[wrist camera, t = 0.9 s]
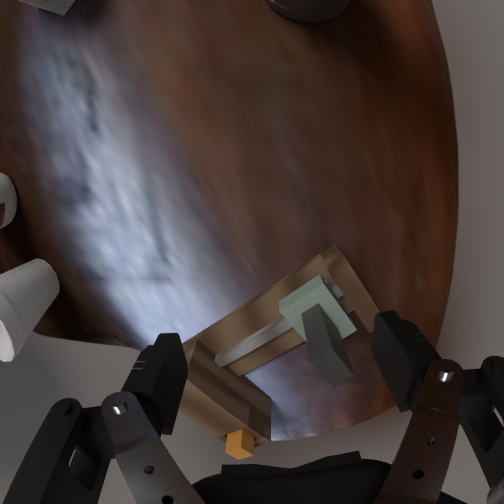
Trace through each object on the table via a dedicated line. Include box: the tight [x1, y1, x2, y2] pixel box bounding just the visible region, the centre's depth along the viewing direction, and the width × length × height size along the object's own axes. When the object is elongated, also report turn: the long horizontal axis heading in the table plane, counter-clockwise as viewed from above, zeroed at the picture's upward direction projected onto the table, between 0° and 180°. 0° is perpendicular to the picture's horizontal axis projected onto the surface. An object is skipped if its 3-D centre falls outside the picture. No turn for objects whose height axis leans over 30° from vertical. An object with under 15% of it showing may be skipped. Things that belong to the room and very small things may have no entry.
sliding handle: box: [279, 274, 357, 387], centre depth 27 cm, size 5×7×11 cm
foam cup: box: [0, 259, 59, 362], centre depth 28 cm, size 10×9×13 cm
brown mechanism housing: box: [178, 243, 380, 447], centre depth 32 cm, size 24×15×8 cm, turn 128°
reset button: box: [226, 429, 254, 460], centre depth 32 cm, size 2×2×4 cm
